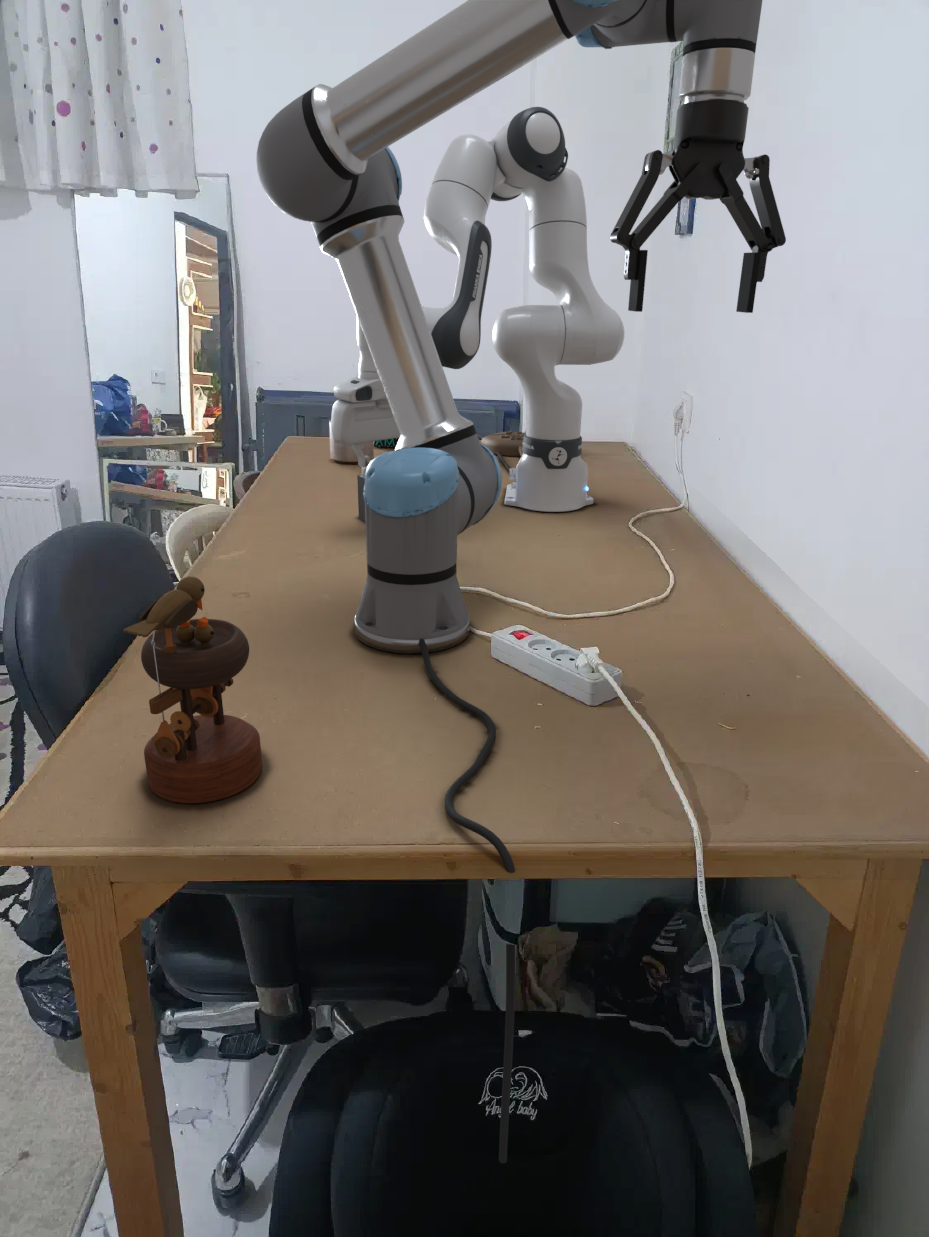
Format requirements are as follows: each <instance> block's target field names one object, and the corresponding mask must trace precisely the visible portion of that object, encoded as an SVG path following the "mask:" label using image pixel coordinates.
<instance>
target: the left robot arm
mask: <svg viewBox="0 0 929 1237" xmlns="http://www.w3.org/2000/svg"><path fill="white" fill-rule="evenodd" d="M762 7H763V0H466V1H465V2H463V3H461V4H460V5H458V6H457V7H455V8H454V9H452V10H450V11H449V12H448V13H446V14H445V15H443V16H442V17H439V19H437V20H435V21H434V22H432V23H431V24H429V25H428V26H426V27H425V28H423V29H421V30H420V31H419V32H416V33H415V34H414V35H411V37H409V38H408V39H406V40H404V41H403V42H401V43H400V44H398V45H396V46H395V47H394V48H392V49H391V50H389V51H388V52H386V53H384V54H382V55H381V56H380V57H378V58H376V59H375V60H373V61H372V62H370V63H369V64H368V65H366V66H364V67H363V68H361V69H360V70H358V71H356V72H355V73H353V74H352V75H351V76H349V77H347V78H345V79H344V80H343V81H340V83H338V84H337V85H335V86H333V87H332V86H329V85H326V84H323V83H319V84H317V85H315V86H313V87H312V88H310V89H309V90H307V91H306V92H304V93H303V94H301V95H299V96H298V97H296V98H295V99H294V100H293V101H291V102H289V103H288V104H287V105H286V106H283V108H282V109H280V110H279V111H278V112H277V113H275V115H274V116H273V117H272V118H271V119H270V121H269V122H268V123H267V125H266V126H265V128H264V129H263V131H262V133H261V136H260V138H259V140H258V143H257V148H256V149H257V150H256V171H257V175H258V180H259V182H260V186H261V187H262V189H263V191H264V193H265V194H266V196H267V197H268V199H269V200H270V201H271V203H272V204H273V205H274V206H275V207H276V208H277V209H279V210H280V211H281V212H282V213H284V214H286V215H287V216H289V217H291V218H293V219H296V220H300V221H303V222H308V223H309V222H310V223H311V224H310V225H311V226H312V229H313V232H314V234H315V237H316V239H317V240H316V241H317V243H318V245H319V248H320V250H321V252H322V253H323V254H325V255H326V256H329V257H330V258H332V259H334V260H335V261H336V262H337V264H338V267H339V269H340V272H341V275H342V277H343V281H344V283H345V286H346V288H347V291H348V293H349V297H350V300H351V303H352V305H353V308H354V311H355V313H356V318H357V317H358V319H359V322H360V325H361V328H362V330H363V333H364V336H365V339H366V341H367V344H368V347H369V350H370V352H371V355H372V358H373V361H374V364H375V366H376V369H377V372H378V375H379V377H380V380H381V383H382V386H383V388H384V391H385V394H386V397H387V399H388V402H389V405H390V408H391V410H392V413H393V416H394V419H395V421H396V424H397V427H398V430H399V432H400V438H399V440H398V443H397V445H396V447H395V448H394V450H389V451H386V452H383V453H380V454H379V455H377V456H375V457H373V459H372V460H371V462H370V463H369V464H368V466H367V468H366V472H365V485H364V489H363V495H364V500H365V521H364V522H365V550H366V579H365V584H364V586H363V589H362V592H361V596H360V600H359V602H358V606H357V609H356V612H355V615H354V633H355V636H356V638H357V639H358V640H359V641H360V642H362V643H363V644H365V645H367V646H368V647H371V648H374V649H377V650H380V651H384V652H390V653H396V654H397V653H398V654H421V655H422V659H423V662H424V668H425V670H426V672H427V674H428V676H429V678H430V680H431V681H432V683H433V684H434V685H435V686H436V688H438V690H440V692H442V694H444V696H446V697H447V698H448V699H449V700H450V701H451V702H453V703H454V704H456V705H457V706H458V707H461V708H463V709H464V710H466V711H468V712H469V713H471V714H473V715H475V716H477V717H478V718H480V719H481V720H482V721H483V722H484V723H485V725H486V727H487V730H488V735H487V738H486V741H485V743H484V744H483V746H482V748H481V750H480V752H479V753H478V755H477V756H476V759H475V760H474V762H473V763H472V765H471V766H470V767H469V768H468V769H467V770H466V771H465V772H463V773H462V774H461V775H460V776H459V777H457V779H456V780H455V781H454V782H453V783H452V784H451V786H449V788H448V790H446V793H445V797H444V808H445V812H446V815H447V816H448V817H449V818H450V820H452V821H453V822H454V823H456V824H457V825H459V826H461V827H463V828H465V829H467V830H469V831H471V832H473V833H475V834H476V835H479V836H480V837H482V838H483V839H485V840H487V841H488V842H489V843H490V844H491V845H493V847H494V849H495V850H496V851H497V853H498V854H499V856H500V858H501V860H502V863H503V866H504V869H505V871H506V872H507V873H510V874H513V873H515V872H516V868H515V863H514V861H513V858H512V856H511V854H510V852H509V850H508V848H507V846H506V845H505V844H504V843H503V841H502V840H501V839H500V838H499V837H498V835H496V834H495V833H494V832H493V831H492V830H490V829H489V828H488V827H486V826H484V825H482V824H480V823H478V822H476V821H473V820H472V819H470V818H467V817H466V816H465V817H464V816H463V815H462V814H460V813H458V812H457V810H456V809H455V806H454V798H455V796H456V794H457V792H458V791H459V790H460V789H461V788H462V787H463V786H464V785H465V784H466V783H467V782H468V781H469V780H470V779H472V777H473V776H475V775H476V773H478V772H479V770H480V768H481V767H482V765H483V764H484V762H485V761H486V758H487V757H488V754H489V753H490V751H491V749H492V747H493V746H494V744H495V741H496V738H497V730H496V729H497V728H496V725H495V723H494V721H493V719H492V718H491V716H490V715H489V714H488V713H486V712H485V711H484V710H482V709H481V708H479V707H477V706H475V705H474V704H472V703H470V702H468V701H466V700H464V699H462V698H461V697H459V696H457V695H456V694H455V693H454V692H453V691H451V690H450V689H449V687H447V686H446V685H445V684H444V683H443V681H442V680H440V678H439V677H438V675H437V674H436V672H435V670H434V668H433V666H432V662H431V657H430V653H433V652H439V651H443V650H446V649H449V648H452V647H455V646H457V645H458V644H460V643H462V642H463V641H464V640H466V639H467V637H468V636H469V634H470V615H469V612H468V608H467V606H466V601H465V599H464V596H463V593H462V589H461V586H460V583H459V581H458V577H457V561H458V560H457V559H458V558H457V557H458V556H457V554H458V536H459V535H461V534H462V533H463V532H465V531H466V530H467V529H469V528H470V527H472V526H475V525H476V524H478V523H480V522H481V521H482V520H484V518H486V516H487V515H488V514H489V513H490V511H491V510H492V509H493V508H494V506H495V505H496V503H497V501H498V500H499V497H500V494H501V490H502V485H503V474H502V470H501V466H500V463H499V461H498V458H497V457H496V455H495V454H493V453H492V452H491V450H490V449H488V448H487V447H485V446H484V445H483V444H481V440H480V438H479V437H478V436H477V433H478V432H477V430H476V428H475V425H474V422H473V421H472V420H471V419H468V418H466V417H464V416H462V415H461V414H460V413H459V411H458V408H457V405H456V403H455V399H454V397H453V394H452V391H451V388H450V385H449V383H448V382H449V381H448V380H447V376H446V374H445V371H444V367H443V366H442V365H441V362H440V359H439V356H438V353H437V350H436V347H435V344H434V341H433V338H432V335H431V333H430V330H429V327H428V324H427V321H426V318H425V315H424V312H423V309H422V307H423V306H422V304H421V301H420V298H419V295H418V292H417V289H416V286H415V283H414V280H413V277H412V274H411V271H410V268H409V266H408V263H407V259H406V257H405V254H404V252H403V248H402V246H401V242H400V234H401V231H402V229H403V226H404V224H405V217H404V215H403V213H402V209H401V206H400V198H401V195H402V191H403V178H402V173H401V172H402V171H401V168H400V165H399V162H398V160H397V158H396V156H395V154H394V153H393V151H392V150H391V148H390V147H389V146H392V145H393V144H395V143H396V142H398V141H399V140H401V139H403V138H405V137H407V136H408V135H410V134H411V133H413V132H415V131H417V130H418V129H420V128H421V127H423V126H425V125H426V124H428V123H429V122H432V121H433V120H436V118H438V117H440V116H442V115H444V114H445V113H447V112H448V111H451V110H452V109H453V108H455V107H457V106H458V105H460V104H462V103H463V102H465V101H467V100H468V99H470V98H472V97H474V96H475V95H477V94H478V93H481V92H482V91H483V90H485V89H487V88H488V87H491V86H492V85H493V84H496V83H497V82H499V81H500V80H502V79H504V78H505V77H506V76H508V75H510V74H512V73H514V72H515V71H517V70H518V69H521V68H522V67H524V66H525V65H527V64H529V63H530V62H532V61H533V60H535V59H537V58H539V57H540V56H543V55H544V54H546V53H547V52H549V51H551V50H553V49H554V48H555V47H557V46H559V45H561V44H562V43H564V42H566V41H568V40H570V39H571V38H575V40H576V42H577V44H578V45H579V46H581V47H583V48H603V49H605V50H611V49H612V48H619V47H631V46H642V45H652V44H654V45H655V44H663V43H678V42H683V49H682V59H681V69H680V77H679V79H680V80H679V90H678V99H679V100H680V102H682V103H683V104H681V105H680V106H679V107H678V108H677V109H676V119H675V129H674V139H673V140H674V141H673V150H672V153H671V154H667V153H663V152H662V151H661V150H660V149H656V150H653V151H650V152H648V153H646V154H645V156H644V159H643V165H642V170H641V175H640V177H639V179H638V181H637V183H636V185H635V186H634V188H633V191H632V193H631V194H630V196H629V198H628V199H627V202H626V204H625V206H624V208H623V210H622V212H621V214H620V216H619V218H618V220H617V221H616V223H615V226H614V227H613V229H612V231H611V233H610V235H609V241H610V242H611V243H613V244H617V245H619V246H620V247H622V248H623V249H624V263H623V279H624V281H629V282H630V284H629V294H628V296H629V297H628V305H627V306H628V308H627V311H628V312H636V313H637V312H639V313H641V312H643V309H644V296H645V286H646V273H647V264H648V263H647V262H648V252H649V249H641V248H642V246H643V245H644V244H645V242H646V241H647V240H648V239H649V237H651V235H653V233H654V232H655V230H656V229H657V228H658V227H660V225H661V223H663V221H664V220H665V219H666V217H667V216H668V215H669V214H670V213H671V212H672V210H673V209H674V208H675V207H676V206H677V204H679V202H680V201H682V200H683V199H684V198H685V200H695V199H703V200H705V201H706V200H707V201H708V200H710V201H712V200H713V201H714V200H719V201H720V203H721V204H723V205H724V206H725V207H726V209H727V211H728V212H729V215H730V216H731V218H732V219H733V221H734V223H735V225H736V227H737V228H738V229H739V232H740V233H741V235H742V237H743V239H744V240H745V242H746V244H747V245H748V246H749V249H750V250H751V252H743V256H742V265H741V271H740V272H741V273H740V280H739V287H738V295H737V303H736V311H735V312H736V313H744V314H753V312H754V305H755V298H756V293H757V292H756V291H757V283H762V282H763V280H764V278H765V273H766V266H767V259H768V254H769V252H772V251H773V250H774V249H776V248H778V247H782V246H784V245H785V244H786V241H787V237H786V234H785V230H784V227H783V222H782V219H781V215H780V212H779V209H778V204H777V201H776V197H775V193H774V191H773V190H774V189H773V186H772V183H771V179H770V162H771V160H770V156H769V155H768V154H761V155H758V156H753V157H745V156H744V153H743V152H744V151H743V150H744V149H743V148H744V144H745V141H746V133H747V125H748V118H749V109H750V108H749V106H748V104H747V103H745V101H747V100H748V99H749V98H750V97H751V93H752V85H753V77H754V70H755V59H756V52H757V43H758V36H759V30H760V22H761V14H762ZM667 168H668V170H669V172H670V174H671V176H672V178H673V181H672V183H671V184H670V185H669V186H668V187H667V189H666V190H664V192H663V195H662V196H661V198H660V199H659V200H658V201H657V202H656V203H655V205H654V206H653V207H652V208H651V209H650V211H649V212H648V213H647V214H646V216H645V217H644V218H643V219H642V220H641V222H639V223H638V225H637V226H636V227H635V229H634V230H633V231H632V229H633V228H634V226H635V224H636V222H637V220H638V218H639V216H640V214H641V212H642V210H643V208H644V206H645V204H646V203H647V201H648V199H649V197H650V195H651V193H652V191H653V189H654V188H655V185H656V183H657V181H658V179H659V177H660V175H663V174H664V173H665V171H666V169H667ZM742 172H744V175H745V177H746V178H747V179H748V183H749V189H750V192H751V195H752V199H753V202H754V206H755V209H756V214H757V217H758V220H759V221H758V220H757V218H756V216H755V214H754V212H753V210H752V208H751V207H750V204H748V202H747V199H746V198H745V196H744V194H745V193H744V191H743V189H742V187H741V185H740V184H739V182H738V180H737V179H738V178H739V177H740V175H741V174H742ZM631 231H632V232H631ZM505 953H506V954H505V960H506V961H505V1022H504V1046H503V1065H502V1086H501V1101H500V1102H501V1103H500V1118H499V1119H500V1120H499V1122H500V1123H499V1124H500V1125H499V1142H498V1144H499V1146H498V1162H499V1163H500V1164H506V1163H507V1162H508V1142H509V1124H510V1123H509V1122H510V1102H511V1086H512V1072H513V1057H514V1056H513V1055H514V1037H515V1034H514V1033H515V1009H516V1008H515V1007H516V1006H515V1004H516V944H511V943H506V944H505Z"/></svg>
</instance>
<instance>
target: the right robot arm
mask: <svg viewBox="0 0 929 1237" xmlns="http://www.w3.org/2000/svg"><path fill="white" fill-rule="evenodd" d="M568 159H569V152H568V150H567V147H566V138H565V133H564V131H563V128H562V125H561V123H560V120H558V118H557V116H556V115H555V114H554V113H553V112H552V111H550V110H549V109H548V108H546V107H542V106H533V107H529V108H526V109H524V110H522V111H520V112H518V113H517V114H515V115H514V116H513V117H512V119H511V120H510V121H508V122H507V123H505V124H504V125H503V126H502V127H501V128H500V129H499V130H498V131H497V132H496V134H495V135H494V137H493V138H491V139H490V141H488V140H486V139H484V138H482V137H480V136H479V135H475V134H461V135H459V136H457V137H455V138H454V139H453V140H452V141H451V142H450V143H449V145H448V147H447V149H446V150H445V152H444V154H443V156H442V158H441V160H440V161H439V164H438V166H437V168H436V171H435V173H434V175H433V178H432V182H431V184H430V187H429V190H428V193H427V197H426V198H425V201H424V202H425V203H424V208H423V222H424V225H425V228H426V231H427V232H428V234H429V235H430V237H431V238H432V239H433V240H434V242H436V243H437V244H438V245H439V246H441V247H442V248H443V249H444V250H446V251H447V252H449V253H451V254H453V255H454V256H457V258H458V265H457V271H456V278H455V284H454V289H453V295H452V300H451V301H450V303H449V304H448V305H446V306H444V307H429V306H422V309H423V312H424V315H425V318H426V321H427V324H428V327H429V330H430V333H431V335H432V338H433V341H434V344H435V347H436V350H437V353H438V356H439V359H440V362H441V365H442V367H443V368H447V369H451V370H461V369H463V368H465V366H467V365H468V364H469V363H471V361H472V360H473V359H474V358H475V356H476V355H477V353H478V351H479V348H480V345H481V335H482V329H481V327H482V315H483V314H482V313H483V309H484V308H483V307H484V301H485V295H486V289H487V283H488V277H489V271H490V266H491V258H492V257H491V256H492V247H493V246H492V245H493V244H492V243H493V242H492V241H493V240H492V235H491V232H490V230H489V228H488V227H487V226H486V216H487V213H488V209H489V206H490V202H491V200H492V201H495V202H508V201H512V200H515V199H517V198H518V197H520V196H521V195H523V198H524V199H525V201H526V202H525V203H526V205H527V208H528V213H529V215H528V216H529V218H528V269H529V272H530V275H531V277H532V278H533V280H534V281H535V282H536V283H537V284H538V285H539V286H541V287H543V288H545V289H547V290H549V291H550V292H551V293H552V294H553V295H554V296H555V297H556V299H557V301H558V303H559V305H554V304H553V305H552V304H549V305H548V304H525V305H519V306H513V307H509V308H505V309H503V310H502V311H501V312H500V313H499V314H498V316H497V317H496V319H495V321H494V323H493V327H492V333H491V340H492V345H493V348H494V350H495V353H496V354H497V356H498V357H499V358H500V359H501V360H502V361H503V362H504V363H505V364H507V366H509V367H510V368H511V369H512V370H513V372H514V373H515V374H516V376H517V378H518V379H519V382H520V384H521V386H522V390H523V392H524V393H523V394H524V399H525V431H526V434H525V435H524V438H523V443H522V445H523V447H522V451H523V454H522V457H521V456H520V458H519V460H518V462H517V464H516V467H512V468H511V467H510V466H509V464H508V463H507V461H506V460H505V459H504V457H503V455H501V454H500V452H496V454H495V455H497V457H498V459H499V460H500V461H501V463H502V464H503V466H504V468H505V469H506V470H507V471H508V479H509V480H515V481H512V482H511V483H510V484H507V485H506V490H505V496H504V505H505V506H512V507H518V508H522V509H526V510H529V511H536V512H537V511H538V512H547V513H548V512H549V513H555V512H556V513H559V512H560V513H561V512H571V511H575V510H580V509H582V508H584V507H585V506H590V505H593V504H594V503H595V502H594V498H593V497H591V496H590V495H588V491H589V486H588V464H587V463H586V461H584V460H583V459H582V457H581V455H582V452H583V451H582V450H583V437H582V435H581V432H582V430H581V429H582V415H583V414H582V413H583V399H582V397H581V395H580V392H578V390H576V389H575V388H573V387H572V386H570V385H569V384H567V383H566V382H563V381H561V380H559V379H558V378H557V376H556V372H555V369H556V366H560V365H562V366H563V365H564V366H569V365H570V366H576V365H577V366H591V365H597V364H602V363H606V362H611V361H613V360H614V359H615V358H616V357H617V355H619V353H620V351H621V349H622V347H623V345H624V341H625V326H624V322H623V320H622V317H621V316H620V315H619V313H618V312H617V311H616V310H615V309H613V308H612V307H611V306H610V305H609V304H608V303H607V302H605V300H604V299H603V298H602V297H601V295H600V293H599V292H598V290H597V289H596V287H595V285H594V282H593V280H592V276H591V273H590V268H589V257H588V222H587V221H588V220H587V207H586V206H587V205H586V199H585V193H584V192H585V191H584V187H583V183H582V180H581V177H580V175H579V174H578V173H577V172H575V171H574V170H573V169H570V168H567V164H568ZM356 341H357V347H358V350H359V362H358V374H357V375H355V376H353V377H351V378H349V379H347V380H345V381H343V382H340V383H338V384H336V385H335V386H333V396H334V398H336V399H337V400H336V401H334V403H333V405H332V408H331V418H330V419H331V420H330V421H331V431H332V437H333V439H334V440H335V441H336V442H337V443H339V444H342V445H349V444H352V449H353V450H354V452H355V453H356V455H357V456H358V463H357V464H358V466H359V467H360V468H362V467H367V466H368V464H369V461H370V457H368V456H366V455H364V453H363V452H362V450H361V449H363V448H364V442H371V441H373V442H375V441H379V440H386V439H393V438H400V432H399V430H398V427H397V424H396V421H395V419H394V416H393V413H392V410H391V408H390V405H389V402H388V399H387V397H386V394H385V391H384V388H383V386H382V383H381V380H380V377H379V375H378V372H377V369H376V366H375V364H374V361H373V358H372V355H371V352H370V350H369V347H368V344H367V341H366V339H365V336H364V333H363V330H362V328H361V325H360V322H359V319H358V317H357V316H356ZM476 433H477V436H478V439H480V440H482V438H483V437H484V436H483V435H482V434H480V433H478V432H476Z"/></svg>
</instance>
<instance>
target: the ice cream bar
mask: <svg viewBox="0 0 929 1237" xmlns="http://www.w3.org/2000/svg"><path fill="white" fill-rule="evenodd" d="M525 434H526V430H524V432H522V431H515V432H514V431H512V430H508V431H501V432H494V433H491V434H486V435H485V436H483V438H482V439H480V443H481V444H483V445H484V446H485V447H487V448H488V449H490V450H491V452H492V453H493V454H494V455H497V454H496V452H500V454H501V455H502V456H507V457H509V456H510V457H520V458H521V457H522V454H523V451H522V447H523V445H522V443H523V438H524V435H525Z"/></svg>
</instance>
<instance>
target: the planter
mask: <svg viewBox="0 0 929 1237" xmlns="http://www.w3.org/2000/svg"><path fill="white" fill-rule="evenodd" d="M328 424H329V425H328V426H329V453H330V454H329V455H330V456H329V457H330V459H331V460H332V461H333V462H335V463H341V464H358V456H357V455H356V453H355V452H354V450H353V449H352V444H349V445H342V444H339V443H337V442H336V441H335V440H334V439H333V437H332V431H331V420H329V421H328ZM361 450H362V452H363V453H364V455H366V456H368V457H370V460H371V461H372V460H373V459H374V458H375V457H374V456H375V455H374V452H375V451H374V450H375V449H374V441H371V442H364V448H363V449H361Z"/></svg>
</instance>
